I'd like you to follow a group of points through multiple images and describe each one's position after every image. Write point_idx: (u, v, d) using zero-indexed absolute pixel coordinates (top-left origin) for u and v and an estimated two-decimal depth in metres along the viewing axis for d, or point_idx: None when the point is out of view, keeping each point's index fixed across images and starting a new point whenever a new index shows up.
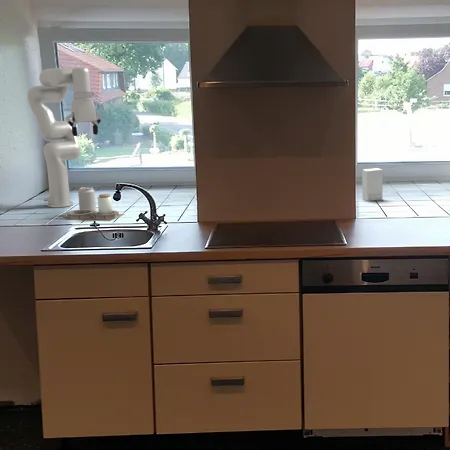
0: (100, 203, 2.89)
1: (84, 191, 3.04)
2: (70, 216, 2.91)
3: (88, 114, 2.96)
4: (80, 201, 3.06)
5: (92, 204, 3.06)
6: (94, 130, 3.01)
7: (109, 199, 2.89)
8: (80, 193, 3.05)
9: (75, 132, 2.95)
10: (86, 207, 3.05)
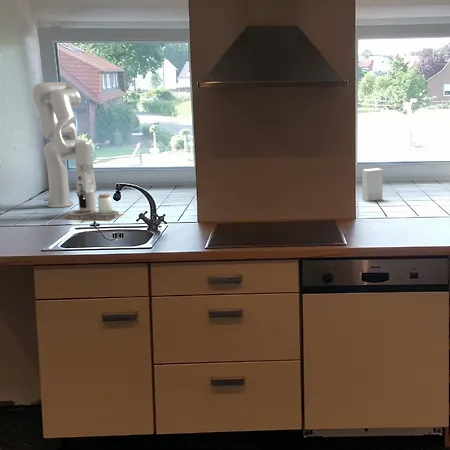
0: (100, 203, 2.89)
1: None
2: (70, 216, 2.91)
3: None
4: None
5: (92, 204, 3.06)
6: None
7: (109, 199, 2.89)
8: None
9: None
10: (86, 207, 3.05)
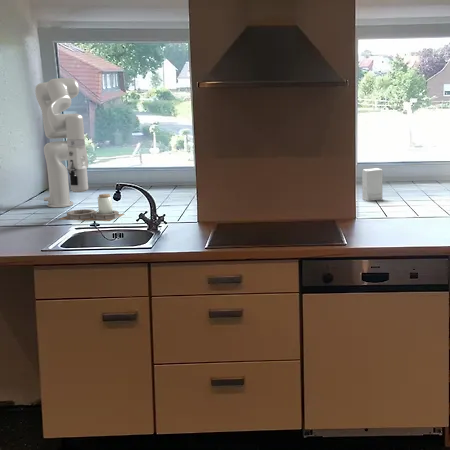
0: (100, 203, 2.89)
1: None
2: (70, 216, 2.91)
3: None
4: None
5: (84, 181, 2.90)
6: None
7: (109, 199, 2.89)
8: None
9: None
10: (77, 185, 2.89)
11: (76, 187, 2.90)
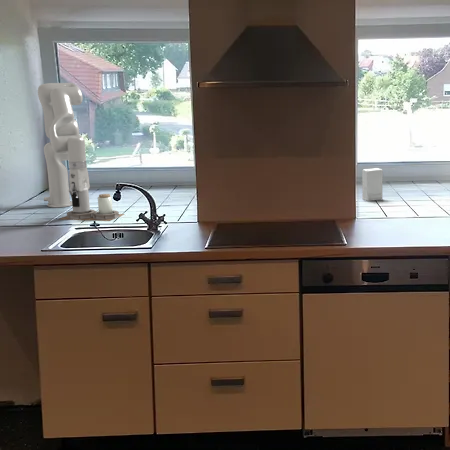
0: (100, 203, 2.89)
1: None
2: (70, 216, 2.91)
3: None
4: None
5: (86, 203, 2.92)
6: None
7: (109, 199, 2.89)
8: None
9: None
10: (79, 206, 2.91)
11: (78, 209, 2.92)
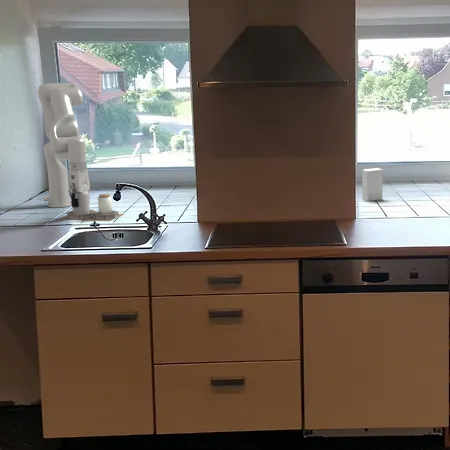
0: (100, 203, 2.89)
1: None
2: (70, 216, 2.91)
3: None
4: None
5: (86, 207, 2.93)
6: None
7: (109, 199, 2.89)
8: None
9: None
10: (79, 210, 2.92)
11: (78, 213, 2.92)
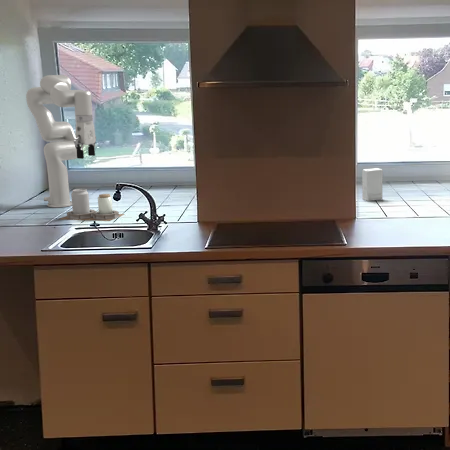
0: (100, 203, 2.89)
1: (77, 193, 2.91)
2: (70, 216, 2.91)
3: None
4: (73, 204, 2.92)
5: (86, 207, 2.93)
6: None
7: (109, 199, 2.89)
8: (73, 195, 2.91)
9: None
10: (79, 210, 2.92)
11: (78, 213, 2.92)
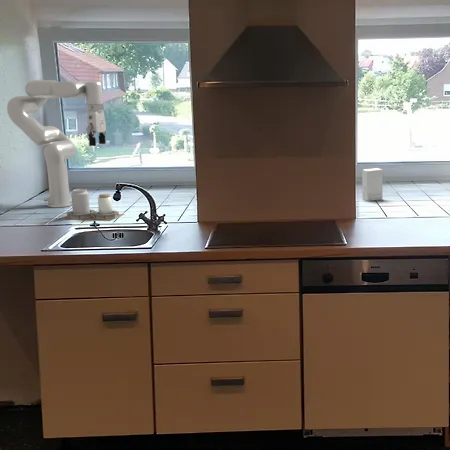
0: (100, 203, 2.89)
1: (77, 193, 2.91)
2: (70, 216, 2.91)
3: None
4: (73, 204, 2.92)
5: (86, 207, 2.93)
6: None
7: (109, 199, 2.89)
8: (73, 195, 2.91)
9: None
10: (79, 210, 2.92)
11: (78, 213, 2.92)
